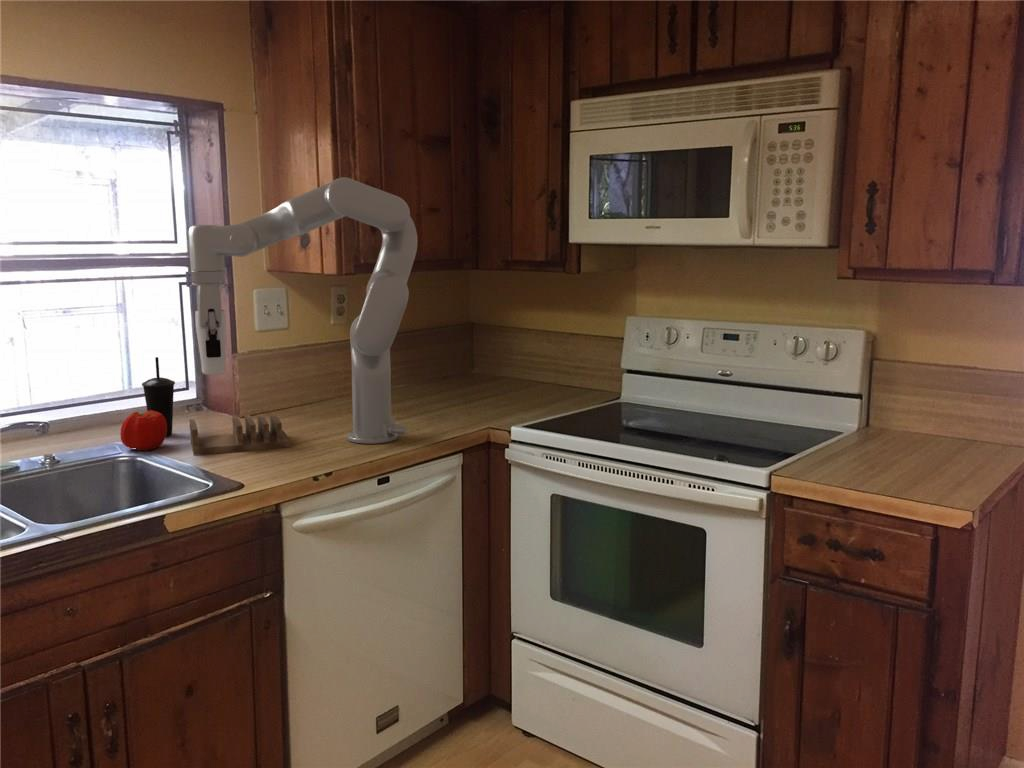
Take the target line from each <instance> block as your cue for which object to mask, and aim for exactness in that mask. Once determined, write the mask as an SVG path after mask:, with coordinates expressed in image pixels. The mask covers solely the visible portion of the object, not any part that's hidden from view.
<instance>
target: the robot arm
mask: <svg viewBox="0 0 1024 768" xmlns="http://www.w3.org/2000/svg"><path fill="white" fill-rule="evenodd" d="M344 217H348V218H349V219H352V220H355V221H358V222H361V223H363V224H365V225H369V226H372V227H375V228H377V229H379V230H380V233H381V236H382V240H381V241H382V243H381V247H380V251H379V254H378V257H377V260H376V262H375V266H374V268H373V271H372V273H371V276H370V279H369V280H368V282H367V284H366V289H365V290H366V296H365V300H364V303H363V305H362V309H361V312H360V314H359V315H357V317H356V318H354V320H353V321H352V323H351V326H350V329H349V330H350V331H349V339H350V341H349V342H350V356H351V358H350V359H351V394H352V395H351V398H352V401H351V402H352V430H351V431H349V432H347V434H346V439H347V440H348V441H350V442H352V443H355V444H363V445H364V444H368V445H369V444H371V445H373V444H383V443H384V444H385V443H389V442H392V441H395V440H397V439H398V437H399V436H398V435H407V427H406V425H402V424H399V425H397V424H396V419H392V395H391V393H392V392H391V391H392V389H391V388H392V385H391V378H392V377H391V376H392V375H391V372H392V371H391V370H392V369H391V366H392V365H391V347H392V345H393V344H394V341H395V337H396V336H397V333H398V330H399V328H400V325H401V322H402V319H403V316H404V313H405V311H406V308H407V306H408V305H407V304H408V301H409V296H410V294H409V293H410V291H409V287H408V281H409V278H410V274H411V271H412V268H413V265H414V262H415V261H414V260H415V259H416V255H417V249H418V233H417V229H416V225H415V222H414V220H413V219H412V216H411V212H410V207H409V205H408V203H407V202H406V201H405V200H404V199H403V198H402V197H399V196H398V195H395V194H392V193H390V192H387V191H384V190H382V189H379V188H376V187H374V186H371V185H368V184H365V183H363V182H361V181H358V180H355V179H353V178H350V177H345V176H344V177H339V178H336V179H334V180H332V181H330V182H328V183H326V184H324V185H321V186H319V187H316V188H314V189H311V190H309V191H307V192H305V193H302V194H300V195H297V196H294V197H292V198H290V199H288V200H285V201H284V202H282V203H281V204H279V205H278V206H277V207H275V208H273V209H271V210H269V211H267V212H264V213H263V214H259V215H258V216H256V217H253V218H250V219H248V220H245V221H243V222H241V223H235V224H229V225H216V224H194V225H192V226H190V227H189V228H188V245H189V246H188V247H189V248H188V249H189V261H190V262H189V263H190V264H189V265H190V277H191V278H190V279H191V286H196V306H197V307H196V308H197V310H196V311H198V319H199V327H200V328H202V326H205V325H206V337H207V340H206V356H207V357H208V358H213V357H221V346H220V340H219V330H218V321H219V327H221V317H222V310H223V309H222V290H221V289H222V287H221V286H226V285H227V282H226V281H227V280H226V268H225V267H226V266H225V265H226V264H225V256H229V257H235V258H236V257H238V258H243V257H248V256H250V255H251V254H254V253H256V252H258V251H260V250H263V249H266V248H267V247H270V246H272V245H274V244H277V243H279V242H282V241H285V240H287V239H291V238H295V237H299V236H301V235H304V234H307V233H310V232H311V231H314V230H316V229H319V228H322V227H323V226H326V225H327V224H330V223H333V222H335V221H337V220H340V219H342V218H344ZM208 313H209V317H208ZM216 319H217V321H216ZM207 323H210V327H207ZM215 323H216V325H215ZM208 330H209V331H208Z"/></svg>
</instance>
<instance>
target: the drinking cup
mask: <svg viewBox="0 0 1024 768" xmlns="http://www.w3.org/2000/svg"><path fill="white" fill-rule="evenodd" d="M155 369H156V370H155V371H156V377H153V378H149V379H148V380H146V381H143V382H142V383H141V386H142V387H143V393H144V400H145V404H146V410H147V411H150V410H153V411H156V412H159V413H161V414H163V416H164V417H165V419H166V422H167V435H166V438H169V437H171V436H172V435H173V418H174V416H173V415H174V414H173V413H174V393H175V391H174V387H175V384H176V382H175V380H171V379H169V378H166V377H160V365H159V357H158V356H157V357H155ZM147 411H146V412H147Z"/></svg>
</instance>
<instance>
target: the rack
mask: <svg viewBox="0 0 1024 768" xmlns="http://www.w3.org/2000/svg"><path fill="white" fill-rule="evenodd" d="M231 418H232V419H231V420H232V422H231V423H232V433H229V434H227V433H226V434H217V435H202V436H199V429H198V426H197V422H196V419H195V418H190V419H189V430H190V431H189V432H190V433H189V434H190V445H192V446H191V449H192V453H193V456H196V455H195V454H202V455H209V454H208V453H213V454H222V453H221V452H225V453H235V452H234V451H236V452H245V451H246V452H247V451H255V450H256V451H257V450H268V449H278V448H290V447H291V440H290V438H289V437H288V435H287V434H286V432H285V431H284V429H283V428H282V427H283V425H282V422H281V420H280V419H279V417H278V415H276V413H274V412H272V413H269V422H268V421H267V419H266V417H265V416H264V415H263V413H260V414H259V413H258V414H257V425H256V423H255V421H254V419H253V418H252V416H251V415H250V414H245V415H244V426H245V427H243V424H242V423H241V420H240V418H239V417H238V415H232V417H231ZM256 426H257V427H256ZM243 428H245V432H243V431H244V429H243ZM256 428H257V429H256Z"/></svg>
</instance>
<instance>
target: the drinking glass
mask: <svg viewBox="0 0 1024 768" xmlns="http://www.w3.org/2000/svg"><path fill="white" fill-rule="evenodd" d="M194 314H195V315H194V320H195V321H194V322H195V332H196V338H197V343H198V344H197V345H198V351H199V357H200V364H201V373H202V374H203V375H206V376H218V375H223V374H225V373H226V370H227V369H226V351H227V349H226V348H227V347H226V344H227V342H226V341H227V318H226V310H225V309H222V317H221V327H219V321H218V330H219V340H220V346H221V357H213V358H208V357H207V356H206V340H207V337H206V325H205V326H202V328H200V327H199V319H198V311H197V310H195V311H194ZM208 317H209V313H208ZM216 321H217V319H216ZM215 325H216V323H215ZM207 327H210V323H207ZM208 331H209V330H208Z"/></svg>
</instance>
